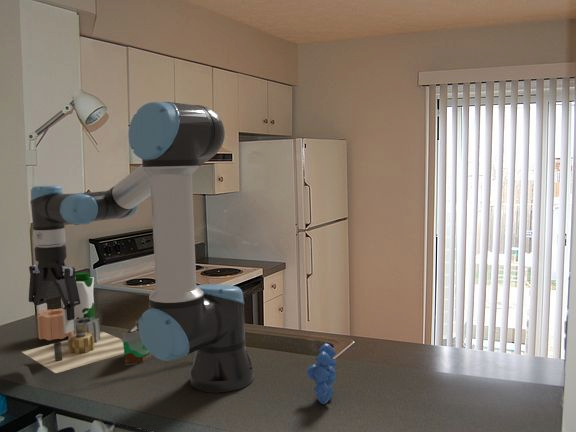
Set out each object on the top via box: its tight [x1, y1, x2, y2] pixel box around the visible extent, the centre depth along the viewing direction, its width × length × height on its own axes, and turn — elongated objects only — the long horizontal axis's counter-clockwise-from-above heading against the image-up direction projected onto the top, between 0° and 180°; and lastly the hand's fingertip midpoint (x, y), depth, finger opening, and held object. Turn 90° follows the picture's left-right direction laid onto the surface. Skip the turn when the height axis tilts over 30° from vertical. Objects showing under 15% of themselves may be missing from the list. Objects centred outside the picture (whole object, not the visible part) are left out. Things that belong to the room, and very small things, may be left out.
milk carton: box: [60, 271, 96, 320], centre depth 170 cm, size 9×9×20 cm
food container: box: [121, 320, 152, 366], centre depth 145 cm, size 12×6×10 cm, turn 179°
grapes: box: [306, 342, 338, 405], centre depth 120 cm, size 12×7×12 cm, turn 164°
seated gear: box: [67, 317, 101, 343], centre depth 161 cm, size 8×8×6 cm
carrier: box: [21, 331, 124, 374], centre depth 154 cm, size 24×24×6 cm
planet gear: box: [36, 307, 73, 341], centre depth 146 cm, size 8×8×6 cm
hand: (56, 330), depth 146 cm, fingers closed on planet gear, 8 cm apart
